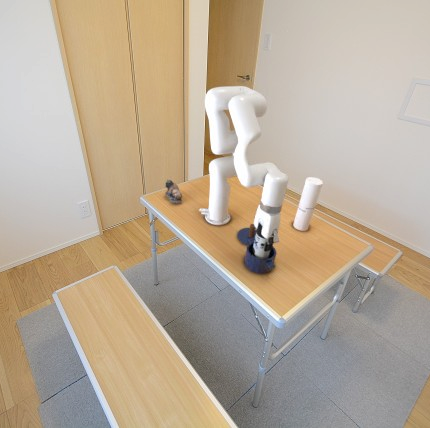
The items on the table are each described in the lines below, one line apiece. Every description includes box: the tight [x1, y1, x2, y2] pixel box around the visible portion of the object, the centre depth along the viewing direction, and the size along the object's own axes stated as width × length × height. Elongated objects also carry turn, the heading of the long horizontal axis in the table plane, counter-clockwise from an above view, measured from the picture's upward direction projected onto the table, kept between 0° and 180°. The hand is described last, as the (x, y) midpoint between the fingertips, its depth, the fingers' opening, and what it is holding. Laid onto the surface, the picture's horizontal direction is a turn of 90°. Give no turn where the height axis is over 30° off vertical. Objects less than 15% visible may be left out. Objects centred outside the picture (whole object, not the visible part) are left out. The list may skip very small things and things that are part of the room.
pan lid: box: [236, 223, 256, 246], centre depth 125 cm, size 13×13×7 cm
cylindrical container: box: [292, 176, 324, 232], centre depth 129 cm, size 7×7×25 cm
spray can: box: [252, 223, 272, 259], centre depth 108 cm, size 7×7×20 cm
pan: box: [244, 238, 277, 274], centre depth 112 cm, size 12×17×7 cm
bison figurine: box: [164, 179, 183, 204], centre depth 147 cm, size 12×7×10 cm, turn 37°
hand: (262, 244), depth 108 cm, fingers closed on spray can, 6 cm apart
